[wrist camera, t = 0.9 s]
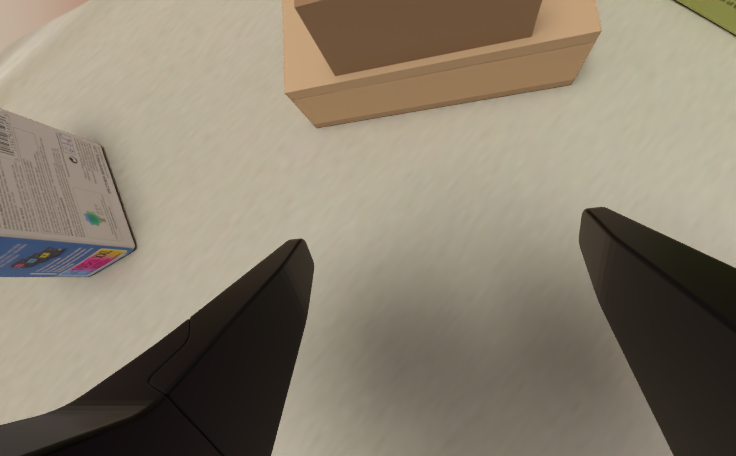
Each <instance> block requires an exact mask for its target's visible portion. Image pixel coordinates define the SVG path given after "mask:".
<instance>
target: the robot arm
mask: <svg viewBox="0 0 736 456" xmlns="http://www.w3.org/2000/svg"><path fill="white" fill-rule="evenodd" d="M579 245H580V249H581V252H582V255H583V258H584V260H585V263H586V266H587V269H588V272H589V275H590V278H591V281H592V284H593V287H594V290H595V293H596V296H597V299H598V301H599V304H600V306H601V308H602V310H603V312H604V314H605V316H606V318H607V320H608V323H609V325H610V327H611V329H612V331H613V333H614V335H615V337H616V339H617V341H618V343H619V345H620V347H621V349H622V351H623V353H624V355H625V357H626V359H627V361H628V363H629V365H630V367H631V369H632V372H633V374H634V376H635V378H636V380H637V382H638V384H639V386H640V388H641V390H642V392H643V394H644V396H645V398H646V400H647V402H648V404H649V406H650V408H651V410H652V412H653V414H654V416H655V418H656V421H657V423H658V425H659V427H660V429H661V431H662V433H663V435H664V437H665V439H666V441H667V443H668V445H669V447H670V449H671V451H672V453H673V455H674V456H736V268H734V267H732V266H730V265H728V264H726V263H724V262H721V261H719V260H717V259H715V258H713V257H711V256H708V255H706V254H704V253H702V252H700V251H698V250H696V249H693V248H691V247H689V246H687V245H685V244H683V243H681V242H678V241H676V240H674V239H672V238H670V237H668V236H666V235H663V234H661V233H659V232H657V231H655V230H653V229H651V228H648V227H646V226H644V225H642V224H640V223H638V222H636V221H633V220H631V219H629V218H627V217H625V216H623V215H621V214H618V213H616V212H614V211H612V210H610V209H608V208H605V207H596V208H587V209H585V210H584V211H583V213H582V217H581V225H580V232H579ZM313 273H314V262H313V259H312V257H311V254H310V252H309V249H308V246H307V244H306V242H305V240H303V239H292V240H288V241H287V242H285V243H284V244H283V245H282V246H280V247H279V248H278V249H277V250H275V251H274V252H273V253H272V254H270V255H269V256H268V257H266V258H265V259H264V260H263V261H261V262H260V263H259V264H258V265H256V266H255V267H254V268H252V269H251V270H250V271H249V272H247V273H246V274H245V275H244V276H242V277H241V278H240V279H238V280H237V281H236V282H235V283H233V284H232V285H231V286H230V287H228V288H227V289H226V290H224V291H223V292H222V293H221V294H219V295H218V296H217V297H216V298H214V299H213V300H212V301H210V302H209V303H208V304H207V305H205V306H204V307H203V308H202V309H200V310H199V311H198V312H196V313H195V314H194V315H193V316H191V317H190V319H188V320H186V321H185V322H184V323H182V324H181V325H180V326H179V327H177V328H176V329H175V330H173V331H172V332H171V333H170V334H168V335H167V336H166V337H164V338H163V339H162V340H160V341H159V342H158V343H156V344H155V345H154V346H152V347H151V348H149V349H148V350H147V351H145V352H144V353H142V354H141V355H140V356H138V357H137V358H135V359H134V360H132V361H131V362H130V363H128V364H127V365H125V366H124V367H122V368H121V369H120V370H118V371H117V372H115V373H114V374H112V375H111V376H110V377H108V378H107V379H105V380H104V381H102V382H101V383H100V384H98V385H97V386H95V387H94V388H92V389H91V390H89V391H88V392H87V393H85V394H84V395H82V396H81V397H79V398H78V399H76V400H74V401H72V402H71V403H69V404H67V405H65V406H63V407H61V408H58V409H56V410H54V411H51V412H48V413H46V414H43V415H39V416H36V417H32V418H28V419H23V420H19V421H15V422H11V423H7V424H3V425H0V456H271V454H272V450H273V446H274V442H275V439H276V435H277V431H278V427H279V423H280V420H281V416H282V412H283V408H284V404H285V400H286V397H287V393H288V389H289V385H290V381H291V378H292V374H293V370H294V366H295V362H296V359H297V355H298V351H299V347H300V343H301V339H302V336H303V332H304V328H305V324H306V320H307V315H308V309H309V302H310V295H311V288H312V281H313Z"/></svg>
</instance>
